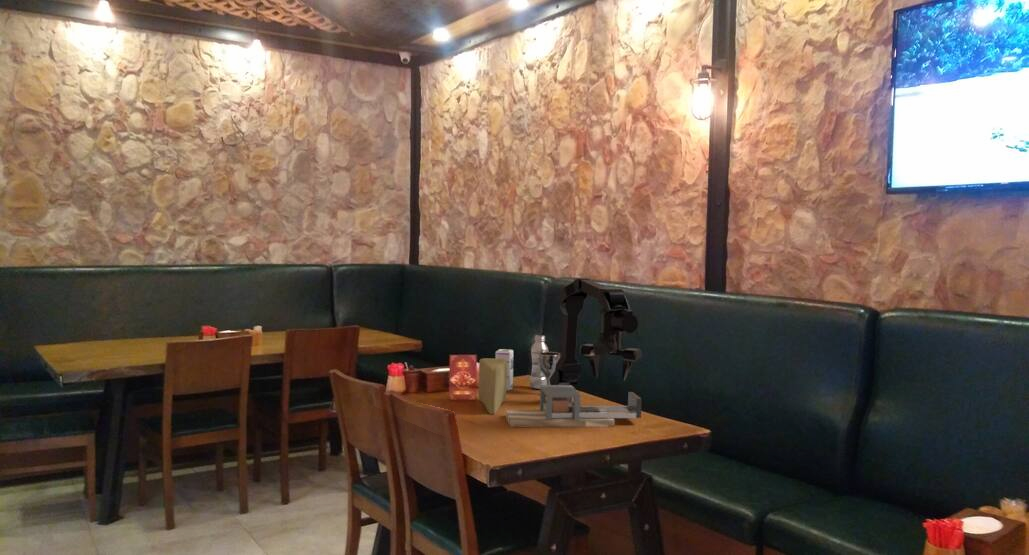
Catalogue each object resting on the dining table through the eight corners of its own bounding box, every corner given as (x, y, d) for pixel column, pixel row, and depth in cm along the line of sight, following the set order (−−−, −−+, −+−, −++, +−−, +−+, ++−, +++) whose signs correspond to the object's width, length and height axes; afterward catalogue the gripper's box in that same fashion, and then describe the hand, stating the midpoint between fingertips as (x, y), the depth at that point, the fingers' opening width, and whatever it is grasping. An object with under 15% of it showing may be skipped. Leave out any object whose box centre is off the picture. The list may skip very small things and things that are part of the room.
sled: (542, 410, 251) (542, 391, 251) (632, 410, 255) (632, 392, 255) (547, 418, 242) (547, 398, 241) (640, 417, 245) (641, 398, 245)
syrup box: (510, 390, 292) (511, 351, 291) (494, 389, 293) (495, 350, 292) (513, 387, 298) (514, 349, 297) (497, 386, 299) (498, 348, 298)
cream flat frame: (505, 416, 252) (505, 409, 252) (604, 415, 256) (604, 409, 256) (510, 427, 238) (510, 420, 238) (614, 426, 242) (614, 420, 242)
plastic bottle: (537, 386, 302) (539, 334, 300) (550, 389, 297) (552, 336, 296) (525, 388, 297) (527, 335, 296) (539, 391, 292) (540, 337, 291)
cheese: (507, 415, 254) (508, 368, 253) (477, 414, 253) (478, 368, 253) (506, 400, 276) (507, 357, 275) (478, 399, 276) (479, 356, 275)
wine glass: (559, 397, 283) (560, 355, 282) (537, 396, 283) (538, 354, 282) (558, 392, 291) (559, 351, 290) (536, 391, 291) (538, 351, 290)
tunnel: (539, 409, 253) (540, 384, 253) (570, 409, 255) (571, 385, 254) (546, 420, 240) (547, 394, 239) (579, 420, 241) (580, 394, 240)
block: (549, 413, 249) (550, 397, 249) (565, 413, 250) (565, 397, 250) (552, 416, 244) (552, 400, 244) (568, 416, 245) (568, 400, 245)
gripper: (572, 329, 243) (570, 379, 244) (629, 334, 233) (627, 387, 234) (588, 325, 252) (586, 374, 253) (643, 330, 243) (641, 381, 244)
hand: (609, 379), depth 246 cm, fingers open, 9 cm apart
